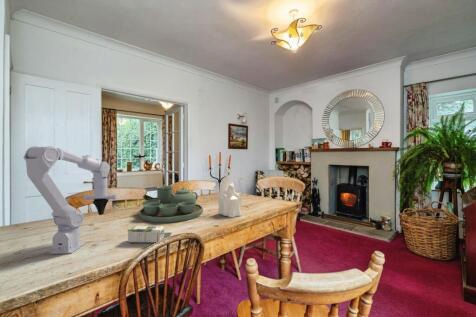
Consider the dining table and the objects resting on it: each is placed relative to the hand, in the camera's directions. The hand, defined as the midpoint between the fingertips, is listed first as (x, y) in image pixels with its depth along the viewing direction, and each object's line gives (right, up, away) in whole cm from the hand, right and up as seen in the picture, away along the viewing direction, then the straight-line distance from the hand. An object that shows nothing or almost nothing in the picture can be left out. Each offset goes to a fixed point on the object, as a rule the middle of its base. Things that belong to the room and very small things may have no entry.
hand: (101, 214), depth 112 cm
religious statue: (+63, -10, +39) cm, 75 cm away
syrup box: (+17, -7, -6) cm, 19 cm away
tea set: (+23, -10, +40) cm, 47 cm away
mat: (+26, -11, -3) cm, 28 cm away
